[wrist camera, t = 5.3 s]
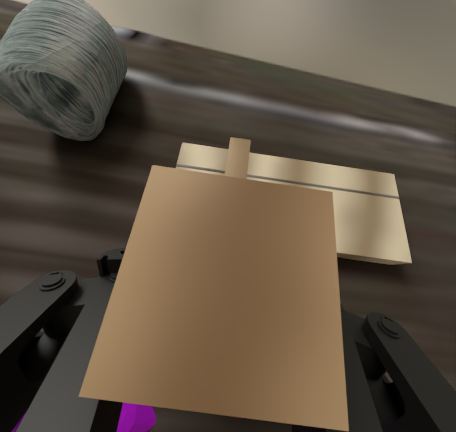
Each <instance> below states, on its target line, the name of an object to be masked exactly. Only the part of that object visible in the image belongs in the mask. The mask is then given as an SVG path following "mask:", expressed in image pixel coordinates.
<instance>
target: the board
mask: <svg viewBox="0 0 456 432" xmlns="http://www.w3.org/2000/svg"><path fill="white" fill-rule="evenodd" d="M228 151H229V150H228V149H222V148H215V147H208V146H202V145H195V144H188V143H182V146H181V150H180V154H179V158H178V161H177V164H176V169H182V170H189V171H196V172H202V173H209V174H216V175H223V176H225V170H226V164H227V157H228ZM247 179H249V180H256V181H263V182H269V183H276V184H283V185H290V186H296V187H303V188H310V189H316V190H323V191H330V192H333V207H334V221H335V236H336V251H337V257H339V258H346V259H353V260H360V261H367V262H375V263H382V264H389V265H396V264H406V263H412V261H411V256H410V251H409V246H408V241H407V236H406V231H405V226H404V221H403V216H402V211H401V206H400V201H399V196H398V191H397V187H396V182H395V177H394V174H389V173H382V172H375V171H369V170H362V169H355V168H349V167H342V166H335V165H329V164H322V163H315V162H309V161H302V160H295V159H289V158H282V157H275V156H268V155H262V154H255V153H249V161H248V170H247Z"/></svg>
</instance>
